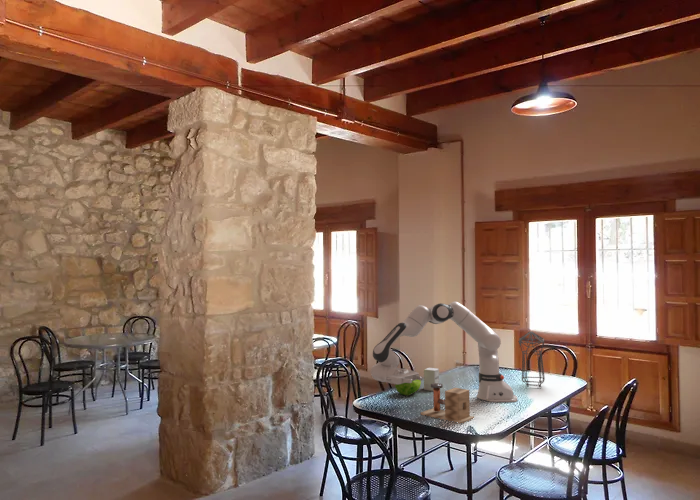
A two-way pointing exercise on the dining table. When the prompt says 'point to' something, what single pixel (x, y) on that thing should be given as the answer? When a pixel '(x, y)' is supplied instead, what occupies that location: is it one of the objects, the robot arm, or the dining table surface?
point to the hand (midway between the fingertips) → (416, 379)
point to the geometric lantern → (537, 355)
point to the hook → (437, 396)
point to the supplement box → (430, 377)
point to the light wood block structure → (453, 407)
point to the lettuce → (408, 387)
